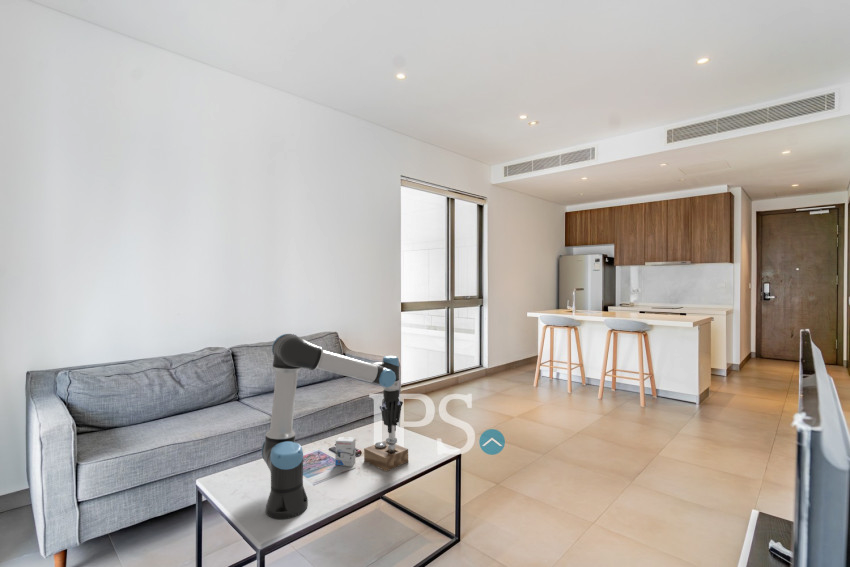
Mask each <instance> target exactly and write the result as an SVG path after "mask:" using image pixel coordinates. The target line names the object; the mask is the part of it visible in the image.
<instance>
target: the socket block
mask: <svg viewBox="0 0 850 567" xmlns="http://www.w3.org/2000/svg"><path fill="white" fill-rule="evenodd" d="M382 442H385V443H386V440H384V441H382ZM363 454H364V455H363V461H364V462H365V463H367V464H370V465H371V466H374V467H375V468H378V469H380V470H383V471H385V472H389V471H390V470H393V469H394V468H397V467H399V465H400V466H402V465H405V464H406V463H409V448H406V447H404V446H401V445H399V444H397V443H395V453H393V454H390V453H388V444H387V443H386V447H385V448H382V449H378V448H376V447H375V444H373V445H370V446H368V447H365V448H364V449H363ZM401 464H402V465H401Z"/></svg>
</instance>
